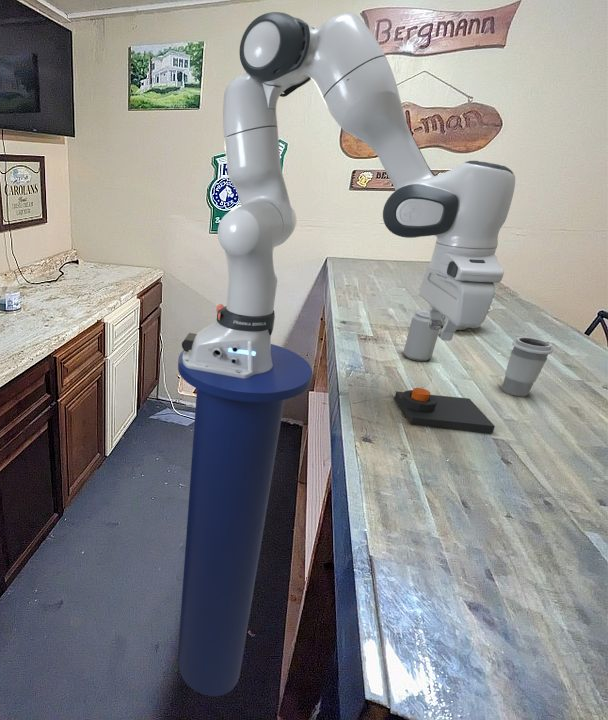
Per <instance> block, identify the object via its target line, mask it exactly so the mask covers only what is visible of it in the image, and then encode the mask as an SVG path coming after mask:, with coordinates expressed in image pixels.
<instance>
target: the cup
mask: <svg viewBox="0 0 608 720" xmlns="http://www.w3.org/2000/svg"><path fill="white" fill-rule="evenodd" d="M511 346H513V348H512V350H511V352H510V356H509V359H508V362H507V366H506V369H505V372H504V379H503V383H502V385H501V390H502V391H503V392H504V393H506V394H507V395H512V396H515V397H528V395H529V393H530V391H531V389H532V387H533V386H534V384H535V383H536V381H537V380H538V378H539V375H540V373H541V371H542V369H543V368H544V366H545V363H546V362H547V360H548V356H549V355H551V354H553V353H554V351H553V347H552V346H553V344H552V343H550V342H549V341H547V340H545V339H541V338H537V337H532V336H518V337H517V338H515V340H513V341H512V342H511Z"/></svg>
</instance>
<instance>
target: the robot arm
mask: <svg viewBox="0 0 608 720" xmlns="http://www.w3.org/2000/svg"><path fill="white" fill-rule="evenodd" d="M239 60H240V63H241V66H242V68H243V70H244V71H245V73H244V74H241V75H239V76H237V77H235V78H234V79H232V81H230V82H229V84H228V85H227V86H226V87H225V90H224V95H223V103H222V105H223V106H222V129H223V140H224V141H223V143H224V150H225V159H226V160H225V161H226V169H227V170H226V171H227V176H228V179H229V181H230V182H231V184H232V185H233V187H234V189H235V191H236V194H237V196H238V199H239V203H240V204H239V205H236V206H234V207H233V208H232V209H231V210H229V211H228V212H227V213H225V214H224V216H222V218H221V219H220V221H219V223H218V227H217V238H218V242H219V245H220V246H221V248H222V249H223V250H224V253H225V257H226V265H227V273H228V275H227V276H228V280H227V281H228V283H227V295H226V305H225V306H224V304H222V303H219V304H218V305H217V306H216V309H215V312H216V321H214V322H213V323H211V324H210V325H208V326H206V327H203V328H202V329H200V330H199V331H198V332H197V333H193V332H189V333H188V334H187V335H186V336H185V338H184V339H183V341H182V342H181V348H182V349H183V350H184V353H183V358H182V362H183V364H184V366H185V367H186V368H189V369H194V370H200V371H205V372H211V373H216V374H222V375H227V376H232V377H238V378H249V377H251V376H253V375H256V374H261V373H264V372H267V371H269V370H270V369H271V368H272V366H273V364H272V358H271V344H272V342H271V340H272V339H271V338H272V334H273V331H274V326H275V319H276V316H275V314H276V313H275V310H274V309H275V301H276V294H277V287H278V277H277V275H276V273H275V267H274V250H275V248H276V247H278V246H281V245H283V244H284V243H286V241H287V240H288V239H289V238H290V237H291V236H292V234H293V233H294V231H295V230H296V227H297V214H296V212H295V210H294V208H293V206H292V205H291V201H290V197H289V194H288V190H287V185H286V183H285V179H284V178H285V177H284V174H283V170H282V169H283V168H282V163H281V154H280V153H281V151H280V144H279V143H280V142H279V141H280V140H279V127H278V117H277V116H278V115H277V105H278V100H279V98H281V97H282V98H286V97H287V96H289V95H290V94H292V93H293V92H295V91H296V90H297V89H299V88H300V87H303V86H304V85H306V84H307V83H308V82H310V81H311V80H312V81H313V82H314V84H315V85H316V87H317V89H318V92H319V94H320V96H321V98H322V100H323V102H324V104H325V107H326V108H327V111H328V112H329V114H330V116H331V117H332V118H333V119H334V121H335V122H336V123H337V125H338V126H339V127H340V128H341V129H342V130H343V131H344V132H345V133H347V134H349V135H350V136H352V137H354V138H356V139H358V140H360V141H361V142H363V143H364V144H365V145H367V146H368V147H369V148H370V149H371V150H372V151H373V152H374V154H375V155H376V156H377V157H378V159H379V162H380V164H381V165H382V167H383V169H384V171H385V173H386V174H387V176H388V178H389V180H390V182H391V183H392V186H393V188H394V190H395V191H393V192H392V193H391V195H390V196H389V197H388V198H387V199H386V201H385V203H384V205H383V208H382V209H383V210H382V221H383V224H384V225H385V227H386V228H387V230H388V231H389V232H390V233H392V234H393V235H394V236H398V237H401V238H405V239H414V238H415V239H416V238H420V237H429V236H430V237H432V236H434V237H436V241H435V243H434V249H433V252H432V255H431V259H430V262H429V263H428V265H427V266H426V268H425V271H424V274H423V277H422V280H421V283H420V286H419V292H418V293H419V294H418V295H419V297H420V298H421V299H422V300H424V301H425V302H426V303H428V304H429V308H428V311H429V322H428V327H429V328H430V329H431V330H439V334H438V338H439V339H440V340H441V341H446V342H449V341H452V339H453V337H454V333H455V332H456V331H457V328H458V327H459V326H460V327H467V328H473V329H474V328H479V327H480V326H481V325H482V324H483V323H484V322H485V320H486V319H487V315H488V314H489V313H488V311H489V308H490V306H492V302H493V299H494V296H495V292H496V284H498V283H501V282H502V280H503V277H504V274H505V272H504V268H503V267H502V266H501V263H499V261H498V258H497V255H496V251H497V248H498V245H499V240H498V238H499V233H500V231H501V228H502V227H503V225H504V224H505V222H506V220H507V218H508V215H509V211H510V208H511V205H512V201H513V197H514V192H515V189H516V188H515V187H516V176H515V174H514V171H513V170H512V169H510V168H509V167H507V166H506V165H501V164H499V163H492V162H486V161H479V160H467V161H464V162H463V163H461V164H460V165H457V166H456V167H454V168H451V169H450V170H447V171H444V172H442V173H440V174H437V175H436V174H435V173H434V172H433V171H432V170H431V168H430V167H429V165H428V163H427V161H426V159H425V156H424V155H423V153H422V151H421V149H420V148H419V146H418V143H417V142H416V140H415V138H414V136H413V134H412V131H411V129H410V127H409V124H408V122H407V118H406V115H405V111H404V108H403V103H402V100H401V96H400V92H399V88H398V84H397V81H396V78H395V75H394V72H393V69H392V67H391V64H390V63H389V60H388V58H387V56H386V54H385V52H384V50H383V48H382V46H381V45H380V43H379V41H378V40H377V38H376V37H375V35H374V34H373V32H372V31H371V30H370V28H369V27H368V26H367V24H366V23H365V22H364V21H363V20H362V19H361V18H360V16H359V15H357V14H355V13H352V12H344V13H340V14H337V15H335V16H333V17H332V18H330V19H328V20H327V21H326V22H324V23H323V24H322V25H320V26H319V27H317V28H315V27H313V26H311V25H310V24H308V22H306V21H304V20H303V19H301V18H298V17H295V16H292V15H291V14H288V13H285V12H281V11H272V12H271V11H270V12H267V13H264V14H261V15H259V16H257V17H256V18H255V19H253V20H252V21H251V22H250V23H249V25H248V26H247V27H246V29H245V30H244V33H243V34H242V37H241V40H240V43H239ZM487 313H488V314H487ZM442 314H443V315H444V316H445V317H446V318H445V322H446V323H445V325H444V327H443V326H441V325H442V321H441V317H442Z"/></svg>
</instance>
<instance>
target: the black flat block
mask: <svg viewBox="0 0 608 720" xmlns="http://www.w3.org/2000/svg"><path fill="white" fill-rule="evenodd" d="M412 391H413V389H409V390H404V391H400V390H399V391H398V390H397V391H395V394H394V400H395V401H396V403H397V405H398V407H399V408H400V410H401V411H402V413H403V414H404V416H405V418H406V419H407V421H408V423H409V425H411V426H412V425H413V426H421V427H430V428H438V429H447V430H455V431H456V430H457V431H464V432H465V431H466V432H472V433H482V434H483V433H484V434H493V433H494V430H495V427H496V426H495V424H494V423H493V422H492V421H491V420H490V419H489V418H488V417H487V416H486V414H484V412H483V411H481V409H480V408H479V407H478V406H477V405H476V404H475V403H474V402H473V401H472V399H471V398H467V397H458V396H449V395H448V396H447V395H438V394H430V396H429V399H428V401H426V402H424V401H418V400H415V399H413V398H411V395H412Z"/></svg>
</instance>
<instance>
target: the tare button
mask: <svg viewBox="0 0 608 720" xmlns="http://www.w3.org/2000/svg"><path fill="white" fill-rule="evenodd" d="M412 390H413V391H412V395H411V398H413V399H415V400H418V401H424V402H426V401H428V399H429V396H430V395H431V391H430V390H428V389H425V388H422V387H414V388H413V389H412Z"/></svg>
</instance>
